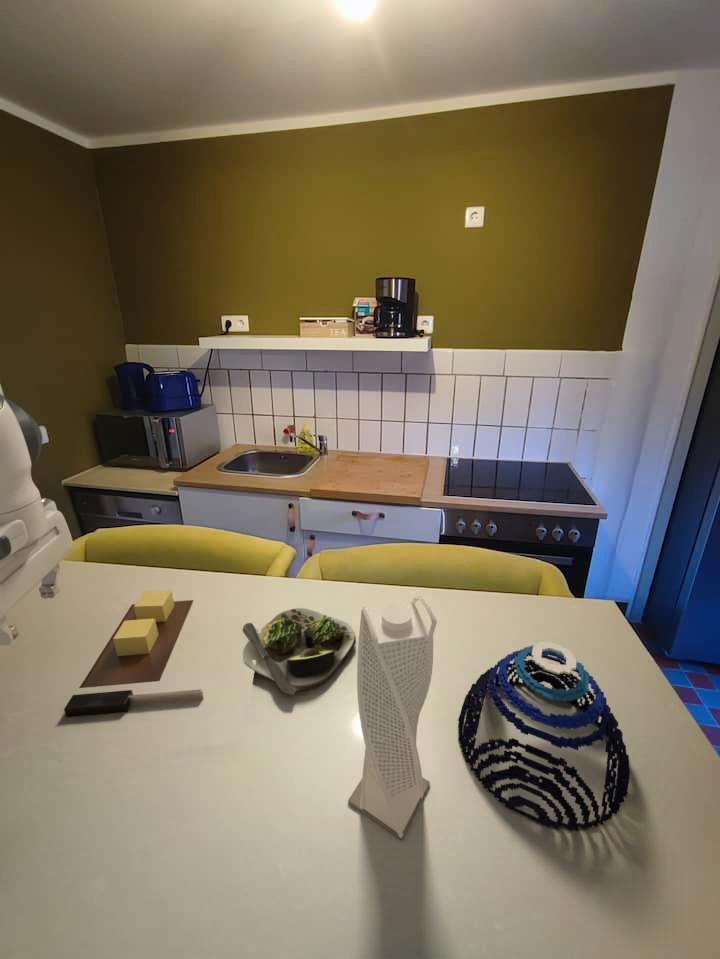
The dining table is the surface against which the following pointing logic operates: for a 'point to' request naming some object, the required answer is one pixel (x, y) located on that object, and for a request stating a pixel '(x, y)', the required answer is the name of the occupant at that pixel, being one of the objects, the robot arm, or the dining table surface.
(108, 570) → the dining table surface
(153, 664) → the cutting board
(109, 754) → the dining table surface
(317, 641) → the salad plate
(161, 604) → the butter slice
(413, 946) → the dining table surface
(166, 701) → the knife
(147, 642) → the butter block
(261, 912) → the dining table surface
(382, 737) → the skyscraper
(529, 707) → the decorative bowl
